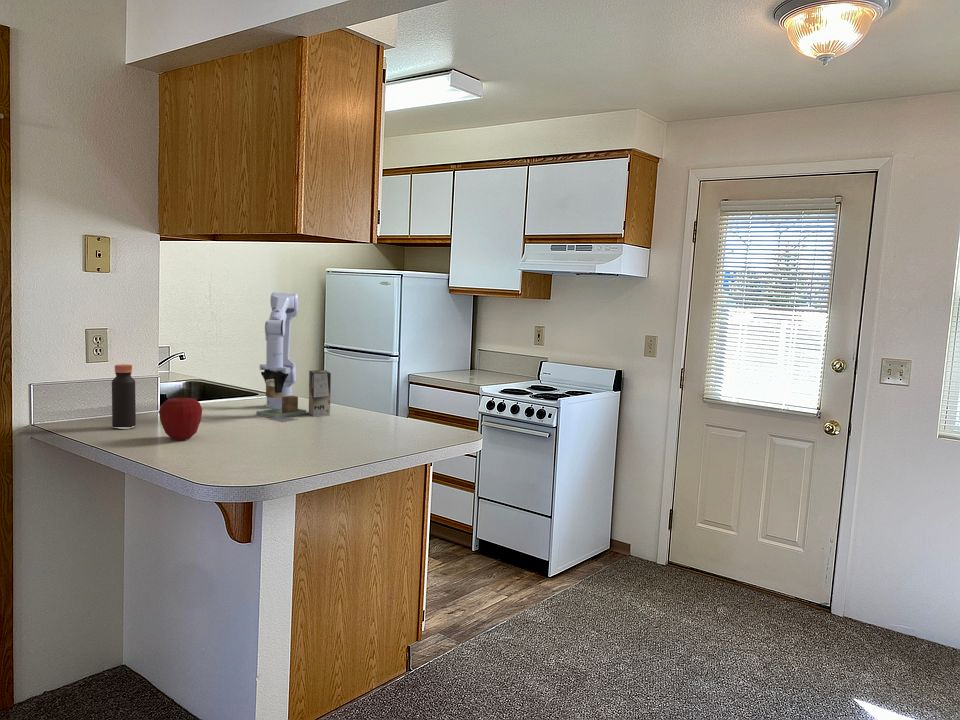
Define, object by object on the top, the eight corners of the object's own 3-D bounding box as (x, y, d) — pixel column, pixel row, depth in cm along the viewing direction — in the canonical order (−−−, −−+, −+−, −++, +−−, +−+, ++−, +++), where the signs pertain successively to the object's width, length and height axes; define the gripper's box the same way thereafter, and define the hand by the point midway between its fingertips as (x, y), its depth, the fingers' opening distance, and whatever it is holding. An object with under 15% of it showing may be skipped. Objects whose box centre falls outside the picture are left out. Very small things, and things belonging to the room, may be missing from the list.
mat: (269, 420, 254) (269, 419, 254) (285, 418, 259) (285, 416, 259) (282, 423, 250) (282, 422, 250) (298, 420, 255) (298, 419, 255)
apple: (203, 434, 227) (203, 391, 226) (201, 442, 216) (201, 397, 215) (161, 435, 224) (160, 392, 222) (157, 443, 213) (156, 398, 211)
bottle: (110, 429, 229) (109, 366, 227) (114, 425, 236) (113, 364, 234) (134, 429, 231) (133, 366, 229) (137, 425, 238) (136, 364, 236)
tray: (256, 415, 262) (256, 411, 262) (288, 411, 273) (288, 406, 273) (274, 419, 256) (274, 414, 256) (306, 414, 268) (306, 410, 267)
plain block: (281, 412, 267) (282, 396, 267) (290, 411, 271) (290, 395, 270) (289, 414, 265) (289, 397, 264) (297, 412, 268) (297, 396, 268)
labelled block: (265, 396, 260) (265, 379, 259) (275, 395, 263) (275, 378, 262) (273, 397, 257) (273, 381, 257) (282, 396, 261) (282, 380, 260)
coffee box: (330, 416, 265) (331, 372, 263) (313, 417, 262) (313, 373, 261) (325, 412, 273) (325, 369, 272) (307, 413, 271) (308, 370, 269)
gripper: (252, 352, 260) (252, 390, 261) (278, 355, 251) (278, 395, 253) (268, 351, 266) (268, 388, 267) (295, 354, 257) (294, 393, 258)
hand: (274, 391), depth 260 cm, fingers closed on labelled block, 4 cm apart
